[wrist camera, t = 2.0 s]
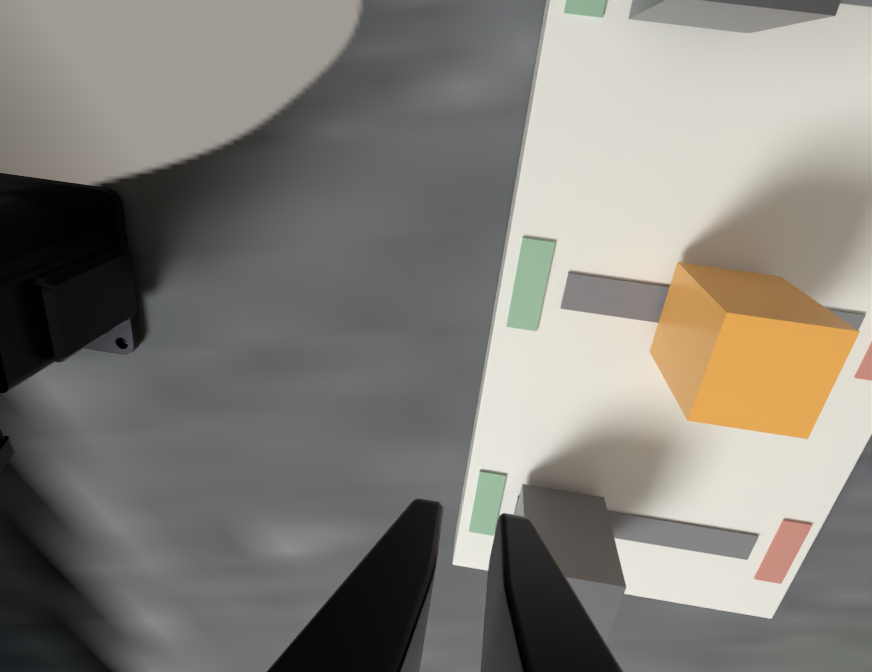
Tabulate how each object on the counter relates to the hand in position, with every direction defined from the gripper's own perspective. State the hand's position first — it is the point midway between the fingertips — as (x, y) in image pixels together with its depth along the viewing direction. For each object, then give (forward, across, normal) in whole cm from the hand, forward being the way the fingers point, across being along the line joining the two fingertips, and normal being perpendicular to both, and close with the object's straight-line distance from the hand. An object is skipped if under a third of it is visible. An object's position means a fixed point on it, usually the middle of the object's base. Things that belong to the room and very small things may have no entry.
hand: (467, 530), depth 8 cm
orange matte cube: (+11, -7, 0) cm, 13 cm away
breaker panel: (+13, -7, 0) cm, 15 cm away
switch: (+11, -4, +9) cm, 14 cm away
